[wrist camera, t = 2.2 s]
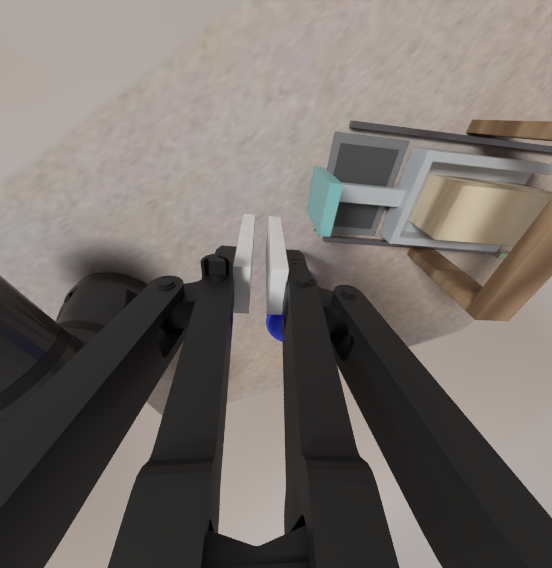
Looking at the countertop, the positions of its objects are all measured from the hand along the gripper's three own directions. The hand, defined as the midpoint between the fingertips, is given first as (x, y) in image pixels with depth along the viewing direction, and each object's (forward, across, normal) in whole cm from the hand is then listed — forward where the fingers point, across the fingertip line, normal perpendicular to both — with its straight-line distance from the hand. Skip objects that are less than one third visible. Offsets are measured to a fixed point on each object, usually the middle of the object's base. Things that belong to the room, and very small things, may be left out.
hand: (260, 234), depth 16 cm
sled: (+16, +20, 0) cm, 25 cm away
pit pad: (+16, +12, 0) cm, 21 cm away
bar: (+15, +26, 0) cm, 31 cm away
